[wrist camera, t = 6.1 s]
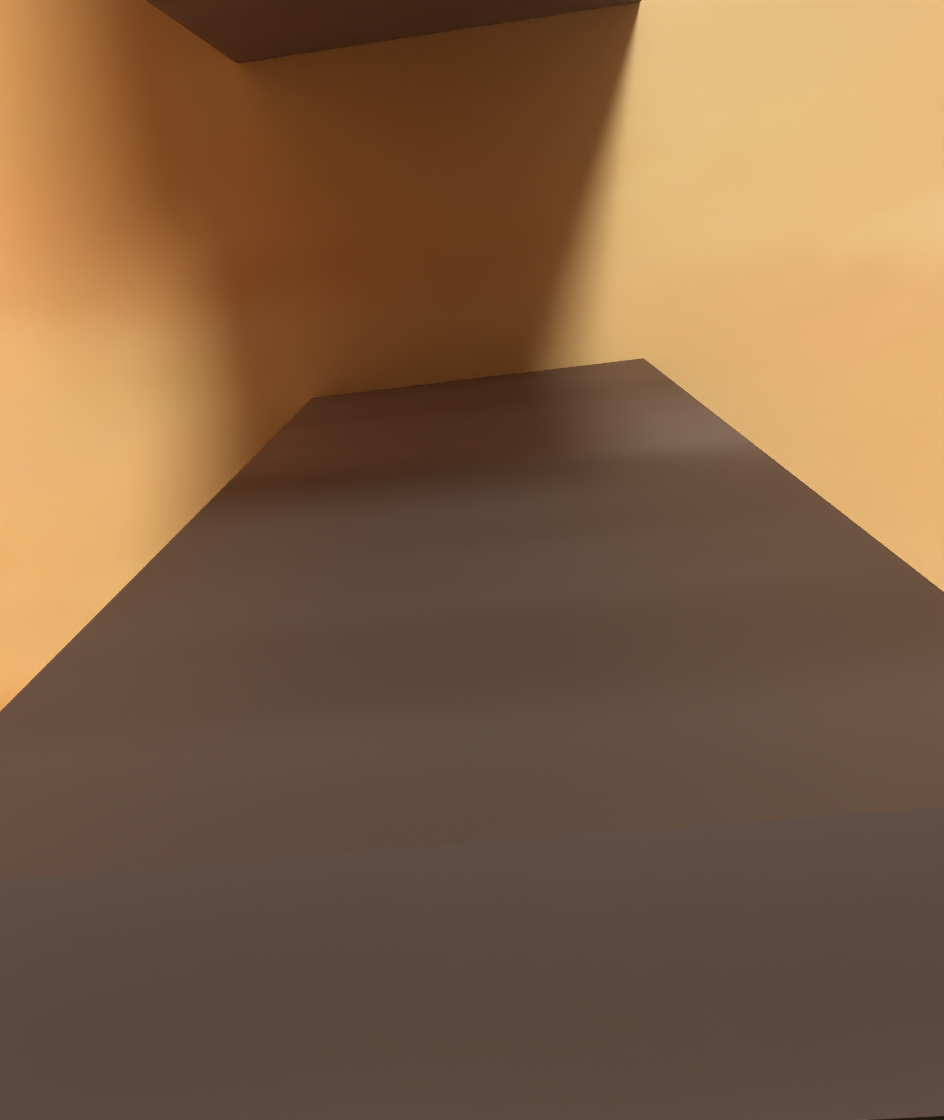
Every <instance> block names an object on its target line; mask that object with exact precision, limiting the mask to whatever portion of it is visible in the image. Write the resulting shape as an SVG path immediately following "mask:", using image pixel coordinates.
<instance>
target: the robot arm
mask: <svg viewBox="0 0 944 1120" xmlns="http://www.w3.org/2000/svg"><path fill="white" fill-rule="evenodd" d="M874 1120H944V1116H933V1117H914V1118H894V1119H874Z"/></svg>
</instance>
